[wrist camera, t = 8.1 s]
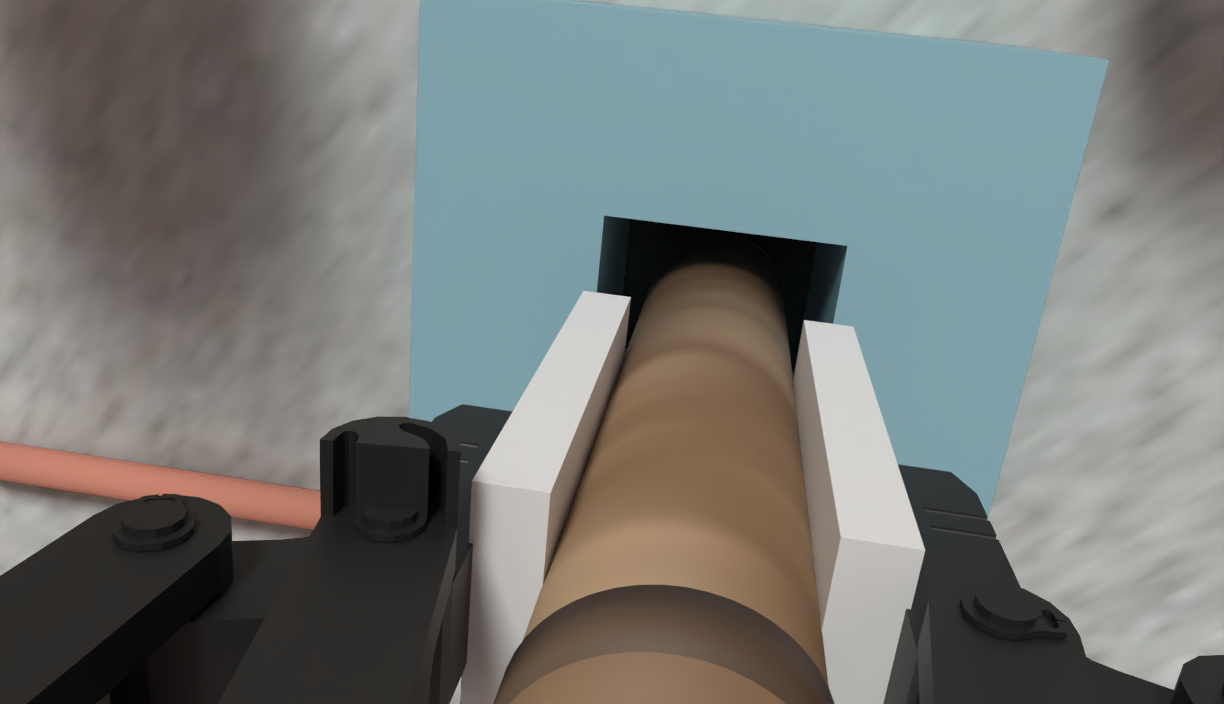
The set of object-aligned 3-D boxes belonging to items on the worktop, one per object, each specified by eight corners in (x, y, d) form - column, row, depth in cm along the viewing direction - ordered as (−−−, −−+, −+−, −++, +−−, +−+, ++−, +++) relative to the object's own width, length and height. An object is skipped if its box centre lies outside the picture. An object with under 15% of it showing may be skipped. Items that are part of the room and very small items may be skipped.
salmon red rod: (-13, 464, 27) (-41, 481, 26) (-18, 431, 26) (-46, 447, 25) (410, 531, 25) (398, 551, 25) (411, 497, 25) (398, 516, 24)
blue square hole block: (471, 454, 24) (405, 559, 20) (494, -9, 21) (419, -12, 16) (912, 520, 23) (953, 648, 19) (1023, 47, 20) (1109, 59, 15)
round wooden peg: (641, 351, 21) (428, 1024, 7) (656, 222, 20) (442, 708, 6) (773, 370, 21) (822, 1105, 7) (795, 239, 20) (904, 790, 6)
